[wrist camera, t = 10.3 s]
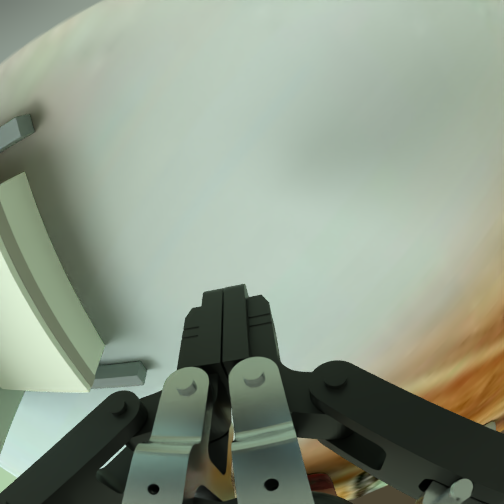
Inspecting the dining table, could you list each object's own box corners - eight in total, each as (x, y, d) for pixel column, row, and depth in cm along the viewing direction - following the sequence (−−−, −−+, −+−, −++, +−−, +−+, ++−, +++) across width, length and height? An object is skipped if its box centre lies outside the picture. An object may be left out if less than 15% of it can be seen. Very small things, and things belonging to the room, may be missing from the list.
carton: (27, 169, 15) (-21, 196, 11) (107, 343, 22) (90, 392, 17) (-51, 212, 15) (-90, 241, 11) (22, 349, 22) (2, 389, 18)
